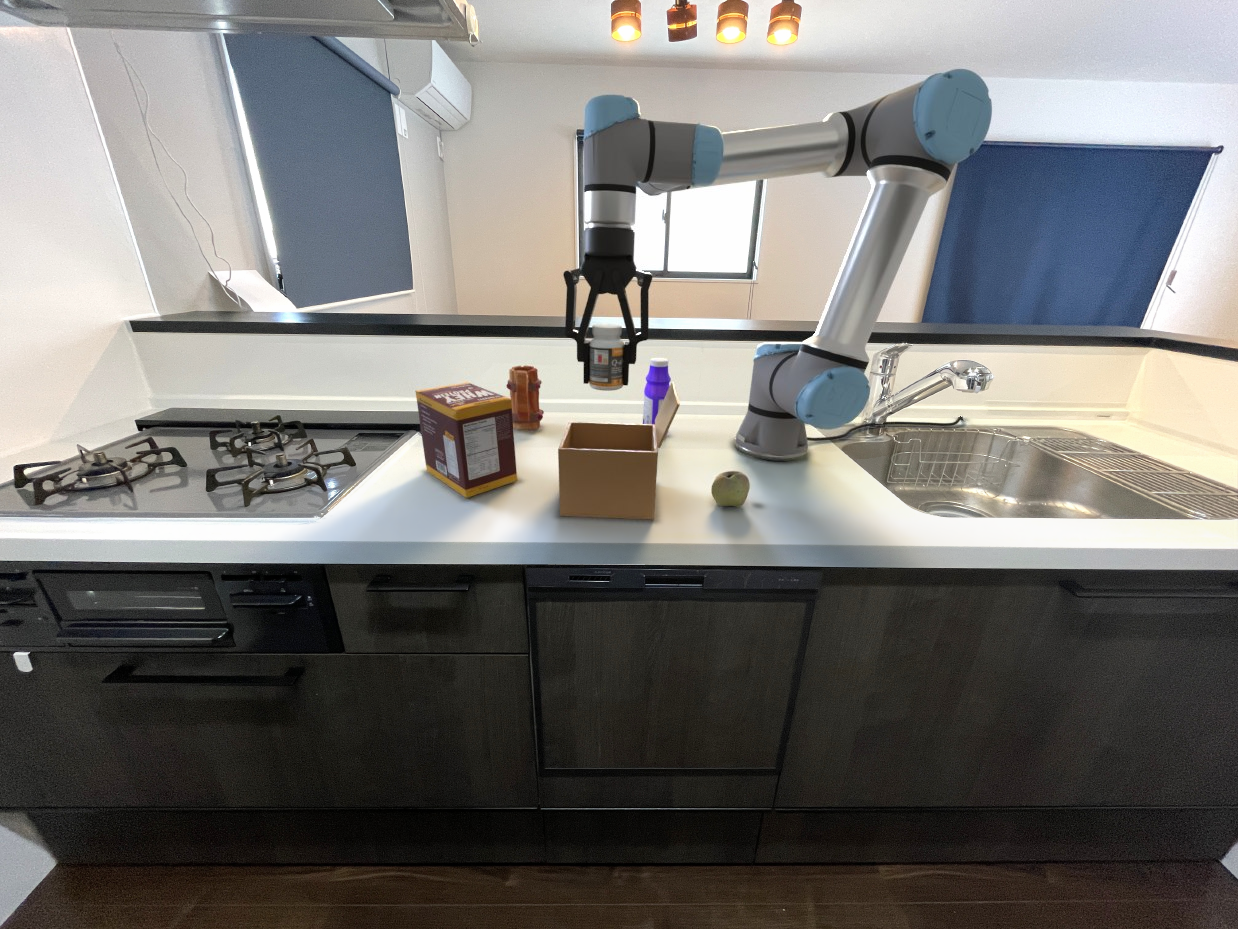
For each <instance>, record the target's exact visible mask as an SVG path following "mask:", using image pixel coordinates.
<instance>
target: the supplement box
mask: <svg viewBox="0 0 1238 929" xmlns="http://www.w3.org/2000/svg"><path fill="white" fill-rule="evenodd" d="M414 391H415V398H416V405H417V412H418V418H419V426H420V434H421V442H422V446H423V456H424V461H425V462H424V463H425V468H426V472H427V473H429V474H430V475H432V476H433V477H435V478H436V479H438V480H439V481H441V482H442V483H444V484H445V485H446V486H448V487H449V488H451V489H452V490H454V491H455V492H457V493H458V494H460V495H461V496H462V497H464V498H467V499H468V498H470V497H474V496H476V495H480V494H482V493H485V492H488V491H491V490H494V489H497V488H500V487H503V486H506V485H509V484H513V483H514V482H518V472H517V461H516V460H517V459H516V446H515V445H516V444H515V431H514V430H515V429H514V428H513V416H512V402H511V398H510V397H508V396H505V395H502V394H500V393H496V392H494V391H491V390H489V389H486V388H483V387H481V386H478V385H476V384H474V383H471V382H468V381H466V382H461V383H455V384H449V385H443V386H438V387H437V386H436V387H431V388H425V389H417V390H414Z"/></svg>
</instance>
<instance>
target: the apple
mask: <svg viewBox="0 0 1238 929" xmlns="http://www.w3.org/2000/svg"><path fill="white" fill-rule="evenodd" d="M750 488H751V483H750V479H749V478H748V476H747V475H746V474H745V473H744V472H742V471H738V470H737V471H736V470H727V471H724V472H721V473H719V474H718V475H717V476H716V477H715V479H714V480H713V482H712V484H711V492H710V493H711V496H712V498H713V500H714V502H716V504H717V505H718V506H721V507H734V508H735V507H737V508H739V507H741V506H743V505H744V504H745V502H746V500H747V498H748V496H749V493H750Z"/></svg>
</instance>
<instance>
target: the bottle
mask: <svg viewBox="0 0 1238 929" xmlns="http://www.w3.org/2000/svg"><path fill="white" fill-rule="evenodd" d="M645 381H646V383H645V386H644V390H643V393H644V394H643V412H642V424H651V425H655V419H656V416H657V414H658V412H659V410H660V407H661V405H662V403H663V401H664V398H665V396H666V394H667V392H668V389H669V387H670V385H671V384H670V383H671V381H672V378H671V376H670V373H669V359H668V358H666V357H651V358H649V369H648V373H647V375H646V376H645ZM668 433H669V431H668V432H667V434H666V436H667V435H668Z"/></svg>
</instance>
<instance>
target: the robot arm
mask: <svg viewBox="0 0 1238 929" xmlns="http://www.w3.org/2000/svg"><path fill="white" fill-rule="evenodd" d="M989 91H990V90H989V87H988V85H987V84H986V82H985V80H984V79H983V78H982V77H981V76H980V75H979V74H977V73H976V72H975V71H972V70H970V69H966V68H954V69H950V70H948V71H947V70H946V71H945V72H936V73H933V74H932V75H930V76H928V77H926V78H925V79H924V80H921V81H919V82H917V83H914V84H911V85H910V86H906V87H904V88H901V89H899V90H897V91H894V92H892V93H888V94H885V95H884V96H881V97H879V98H877V99H875V100H872V101H869V102H868V103H866V104H862V105H861V106H858V107H854V108H851V109H848V110H843V111H835V112H831V113H829V114H828V115H827V116H826V117H825V118H824V119H823V120H822V121H821V120H820V121H814V122H812V121H811V122H805V123H796V124H788V125H779V126H770V127H762V128H761V127H760V128H753V129H752V128H751V129H746V130H745V129H744V130H736V131H728V132H722V131H721V130H720V128H718V127H716V126H715V125H714V126H713V125H708V124H702V123H700V122H696V123H688V122H677V121H675V122H674V121H662V120H651V119H646V118H641V117H642V116H641V112H640V105H639V102H638V101H637V100H636V99H635V98H633V97H630V96H624V95H623V94H600V95H596V96H594V97H592V98H590V100H589V101H588V102H587V103H586V104H585V108H584V127H583V128H584V129H583V138H582V143H583V223H584V224H586V225H587V227H586V228H584V230H583V258H582V263H581V264H580V267H578V268H574V269H571V270H570V269H568V270H565V271H564V272H563V279H564V282H565V285H566V300H565V301H566V302H565V321H564V322H565V326H564V335H565V337H566V338H570V339H572V340H574V341H575V343H576V360H577V362H578V363H583V384H586V385H589V343H590V341H591V339H590V340H589V339H588V340H586V338H587V334H588V332H589V328H590V325H591V321H592V317H593V315H594V311H595V308H596V304H597V301H598V299H599V296H600V295H605V294H610V295H612V296H614V295H615V296H617V297H616V298H617V300H618V303H619V307H620V311H621V314H622V319H623V322H624V326H625V330H626V334H627V338H628V341H624V374H623V386H629V380H630V379H629V377H630V365H636V362H637V352H638V351H637V350H638V344H639V343H641V342H645V341H647V340H648V339H649V336H650V335H649V334H650V333H649V332H650V331H649V330H650V329H649V328H650V327H649V325H650V324H649V321H650V320H649V315H650V314H649V294H650V293H649V290H650V287H651V284H652V280H653V274H652V272H651V273H650V272H644V271H642V270H640V269H637V265H636V264H635V238H636V237H635V234H636V233H635V231H634V229H632V226H634V225H635V224H636V208H637V191H638V192H639V193H640V194H642V195H644V196H649V197H655V196H656V197H657V196H660V195H662V194H664V193H665V194H666V193H673V192H681V191H686V190H693V189H700V188H701V189H702V188H709V187H716V186H717V187H718V186H722V185H723V186H724V185H731V184H732V185H733V184H739V183H748V182H755V181H762V180H771V179H778V178H785V177H787V178H788V177H795V176H802V175H809V174H817V173H818V174H819V175H820V176H821V177H823V178H825V179H830V178H836V177H838V178H839V177H867V179H868V181H869V183H870V185H871V188H870V192H869V194H868V197H867V199H866V203H865V205H864V207H863V210H862V212H861V215H860V217H859V220H858V223H857V225H856V228H855V229H854V230H855V231H854V233H853V235H852V238H851V241H850V244H849V246H848V249H847V251H846V254H845V256H844V259H843V261H842V263H841V267H840V268H839V271H838V274H837V277H836V279H835V282H834V284H833V287H832V289H831V292H830V295H829V297H828V300H827V303H826V305H825V308H824V310H823V313H822V315H821V318H820V320H819V323H818V325H817V328H816V330H815V333H814V334H813V335H812V336H810V337H808V338H807V339H806V338H805V340H802V341H764V342H761V343H759V344H758V345H757V346H756V348H755V352H754V353H755V354H754V357H753V360H752V361H753V366H752V373H751V381H750V388H749V389H750V390H749V398H748V405H747V411H746V414H745V416H744V417H743V419H742V422H741V424H740V426H739V428H738V430H737V431H736V436H735V439H734V446H735V448H736V449H737V450H738V451H740V452H741V453H743V454H744V455H747V456H750V457H753V458H756V459H761V460H766V461H774V462H791V461H797V460H800V459H802V458H803V459H804V457H806V455H807V453H808V448H809V442H810V441H811V442H823V441H825V442H826V441H833V440H839V439H843V438H845V437H847V436H849V434H851V433H852V432H854V431H856V430H859V429H862V428H867V427H873V426H886V425H890V426H891V425H904V426H906V425H907V426H908V425H910V426H934V427H935V426H936V427H952V426H955V425H957V424H959V422H960V421H963V420H964V417H963V416H962V417H961V416H960V417H958V416H957V418H956V419H955V421H952V422H930V421H929V422H927V421H883V422H884V423H883V424H875V423H874V422H868V423H863V424H858V425H856V426H854V427H851V428H850V429H848V430H846V432H844V433H842V434H839V435H834V436H824V437H809V436H808V435H807V429H806V425H808V426H811V427H813V428H815V429H819V430H825V431H826V430H827V431H828V430H835V429H840V428H842V427H843V426H845V425H847V424H850V423H852V422H853V421H854V420H855V419H856V418H857V417H858V416H859V415H860V414H861V413H862V412H863V411H864V409H865V408H866V406H867V404H868V402H869V399H870V395H871V386H870V385H869V383H870V381H869V378H868V377H867V376H866V374H865V372H866V370H867V367H869V366H868V365H869V363H870V357H869V356H868V352H867V351H866V347H867V344H868V342H869V339H870V338H871V335H872V332H873V330H874V328H875V326H876V323H877V322H878V318H879V316H880V313H881V311H882V309H883V307H884V304H885V302H886V300H887V297H888V295H889V292H890V291H891V288H892V285H893V283H894V281H895V280H896V279H895V278H896V276H897V274H898V272H899V270H900V267H901V264H902V262H903V260H904V258H905V255H906V253H907V250H908V249H909V245H910V244H911V241H912V239H913V237H914V234H915V231H916V229H917V227H918V225H919V222H920V220H921V218H922V215H923V213H924V211H925V208H926V206H927V204H928V201H929V199H930V198H931V197H932V196H933V195H935V194H937V193H938V192H940V191H942V190H944V189H945V188H946V186H947V184H948V182H949V178H950V177H951V175H952V173H953V170H954V168H955V165H956V164H959V163H961V162H962V161H965V160H967V159H968V158H969V156H971V155H973V154H975V153H976V152H977V151H978V149H979V148H980V147H981V145H982V144H983V143H984V141H985V139H986V137H987V135H988V132H989V129H990V126H991V123H992V116H993V102H992V98H991V97H990V95H989ZM581 276H582V277H583V278H584V280H585V281H586V283H587V284H588V286H589V287H590V290H589V292H588V295H587V301H586V304H585V307H584V310H583V314H582V317H581V321H580V324H579V328H578V329H576V315H577V314H576V313H577V293H578V287H577V284H579V283H580V281H581ZM634 278H636V280H637V282H636V283H637V285H638V286H639V288H640V297H639V298H640V332H637V331H636V328H635V323H634V319H633V315H632V312H631V307H630V303H629V299H628V293H627V290H626V289H627V287H628V286H629V284H630V283H631V282H632V280H633V279H634Z"/></svg>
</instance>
